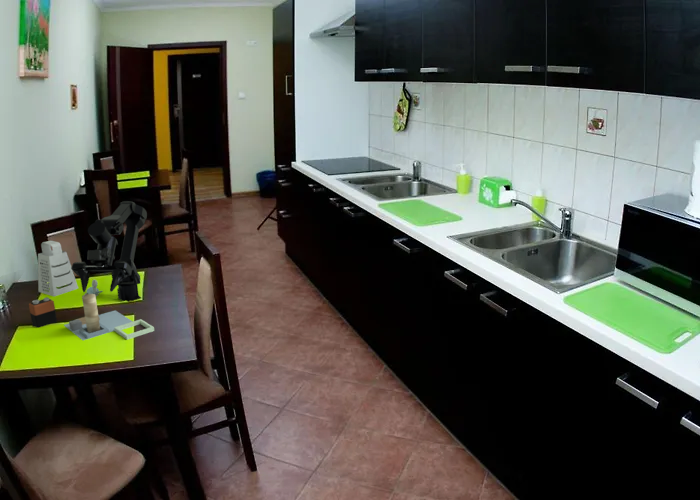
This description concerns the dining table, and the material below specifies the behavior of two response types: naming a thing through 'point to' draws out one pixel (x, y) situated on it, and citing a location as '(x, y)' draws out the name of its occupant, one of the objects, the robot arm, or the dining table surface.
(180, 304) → the dining table surface
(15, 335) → the dining table surface
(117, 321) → the board
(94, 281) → the pacifier
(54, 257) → the grater
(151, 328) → the tray
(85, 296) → the dowel
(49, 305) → the battery
